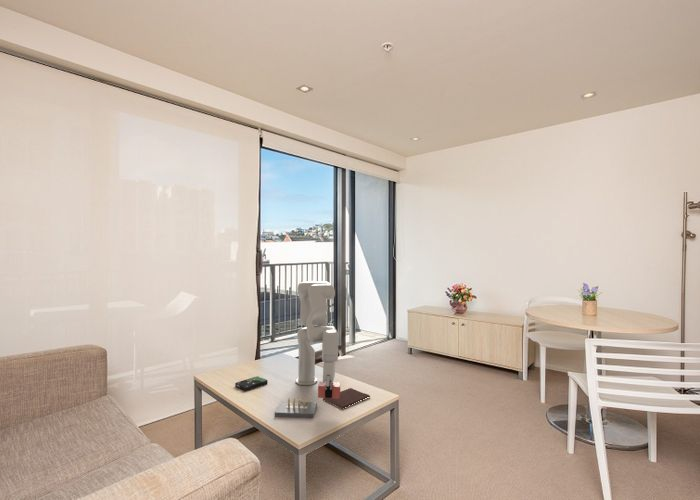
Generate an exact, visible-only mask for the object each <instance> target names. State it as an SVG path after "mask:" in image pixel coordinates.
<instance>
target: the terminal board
mask: <svg viewBox="0 0 700 500" xmlns="http://www.w3.org/2000/svg"><path fill="white" fill-rule="evenodd" d="M317 408H318V402H317V401H316V402H314V401H313V402H310V401H306V398H303V401H301V398H298V399H297V401H296V398H294V397H293V399H292V401H291V398H290V397H289V398H287V401H284V400H283V401H280V403H279V405H278V406H277V408H276V409H275V411H274V417H276V418H296V419H299V418H300V419H302V418H303V419H314V418H315V414H316V412H317Z"/></svg>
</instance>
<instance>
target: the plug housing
mask: <svg viewBox="0 0 700 500" xmlns="http://www.w3.org/2000/svg"><path fill="white" fill-rule="evenodd" d="M329 385H330V384H329ZM325 388H326V382H325V383H323V381H319V382H318V386H317V398H318V399H319V398H320V399H323V398H325ZM340 392H341V382H339V381H337V382H336V381H333V383H332V398H335V399H339V398H340Z"/></svg>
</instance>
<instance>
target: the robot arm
mask: <svg viewBox="0 0 700 500" xmlns="http://www.w3.org/2000/svg"><path fill="white" fill-rule="evenodd" d="M335 290H336V289H335V287H334V285H333V284H332V283H330V282H329V281H325V280H324V281H323V280H320V281H315V280H311V281H301V282H300V283H299V284H298V285H297V295H298V298H299V301H300V308H299V309H300V311H299V312H300V314H299V316H300V317H299V318H300V324H301V325H302V326H305V327H301V328H300V329H298V331H297V333H296V335H297V336H296V337H297V344H298V374H297V375H298V376H297V378H296V379H295V383H296V384H298V385H300V386H311V385H314V384H316V383H318V378H317V377H316V374H315V369H316V366H315V365H316V351H315V348H314V347H313V346H312V345H314V344H320V343H321V345H322V346H321V360H322V362H323V369H322V382H323V383H325V382H326V388H325V398H332V383H333V382H335V381H334V380H335V375H336V362H338V361H339V331H338V330H337V329H336V327H335V326H334V325H328V313H327V312H328V311H329V306H328V303H327V300H334V298H335V296H336V291H335ZM329 384H330V385H329Z"/></svg>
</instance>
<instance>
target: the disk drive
mask: <svg viewBox="0 0 700 500" xmlns="http://www.w3.org/2000/svg"><path fill="white" fill-rule="evenodd" d="M234 384H235V386H234V387H235V388H237V389H239V390H241V391H243V392H249V391H251V390H254V389H257V388H260V387H263V386H266V385H268V379H265V378H263V377H260V376H259V375H258V376H253V377H250V378H247V379H243V380H239V381H237V382H235V383H234Z"/></svg>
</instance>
